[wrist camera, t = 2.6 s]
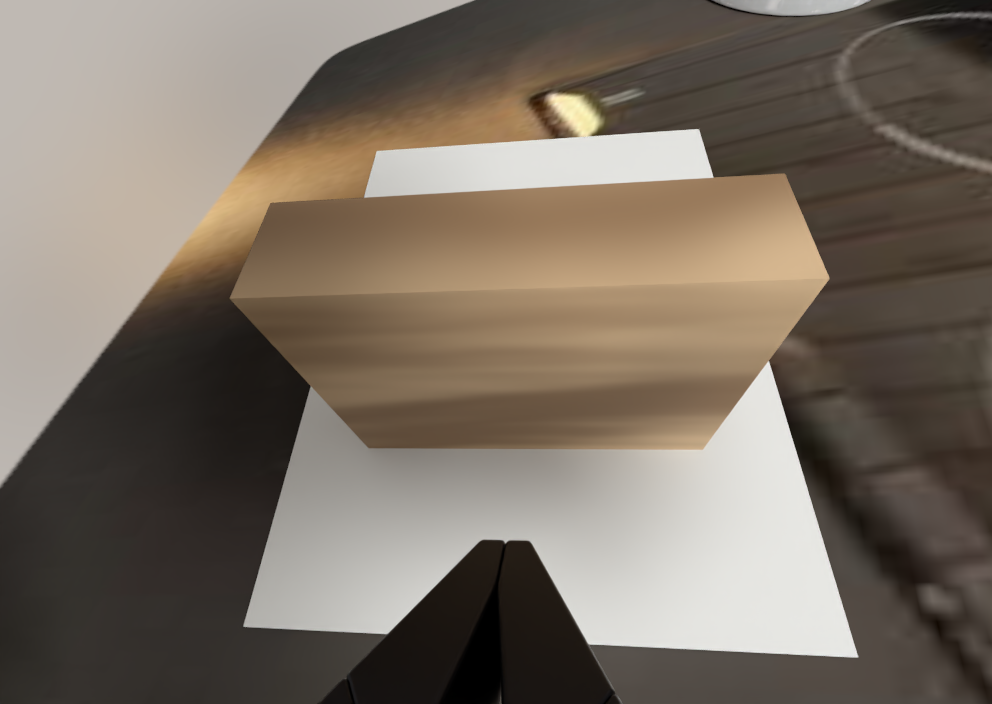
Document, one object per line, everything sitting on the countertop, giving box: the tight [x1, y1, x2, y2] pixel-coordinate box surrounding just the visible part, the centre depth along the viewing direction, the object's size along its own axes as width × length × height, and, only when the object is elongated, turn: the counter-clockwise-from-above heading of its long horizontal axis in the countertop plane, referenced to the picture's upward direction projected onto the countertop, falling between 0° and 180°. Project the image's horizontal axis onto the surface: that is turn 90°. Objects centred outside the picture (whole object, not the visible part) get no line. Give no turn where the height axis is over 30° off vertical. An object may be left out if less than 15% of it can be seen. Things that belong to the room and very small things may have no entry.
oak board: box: [230, 174, 829, 450], centre depth 14 cm, size 3×12×9 cm, turn 87°
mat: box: [243, 129, 858, 657], centre depth 20 cm, size 24×18×1 cm
